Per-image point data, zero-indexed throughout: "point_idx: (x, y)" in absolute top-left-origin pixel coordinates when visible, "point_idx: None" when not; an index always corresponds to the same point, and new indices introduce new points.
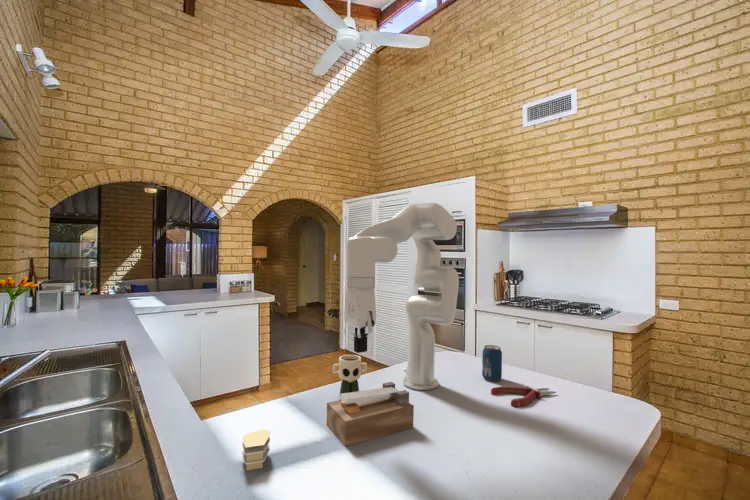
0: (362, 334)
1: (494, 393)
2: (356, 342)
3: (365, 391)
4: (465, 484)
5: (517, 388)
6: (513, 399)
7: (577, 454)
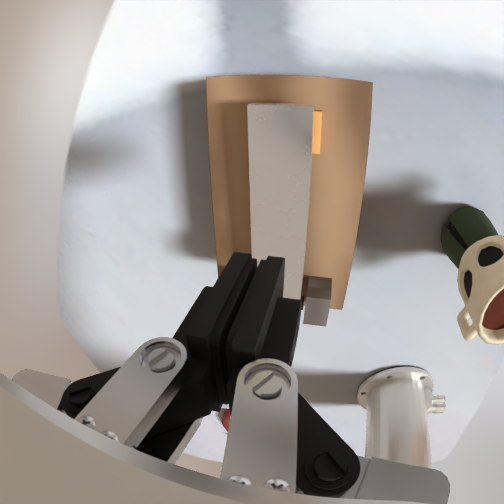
0: (106, 375)
1: None
2: (206, 301)
3: (296, 210)
4: (73, 214)
5: None
6: (227, 419)
7: (109, 355)
